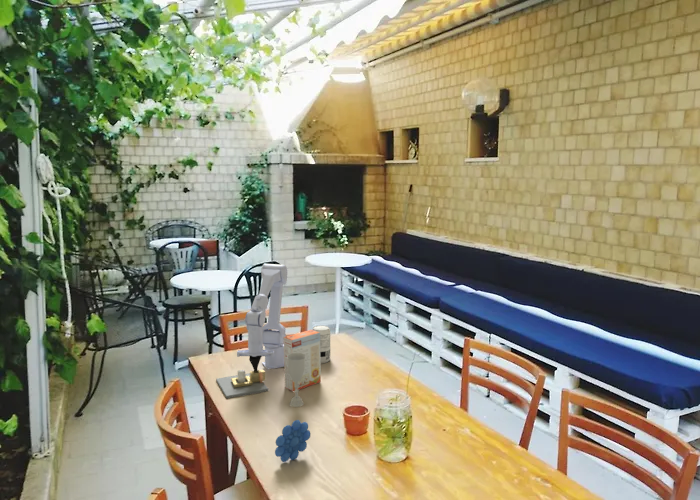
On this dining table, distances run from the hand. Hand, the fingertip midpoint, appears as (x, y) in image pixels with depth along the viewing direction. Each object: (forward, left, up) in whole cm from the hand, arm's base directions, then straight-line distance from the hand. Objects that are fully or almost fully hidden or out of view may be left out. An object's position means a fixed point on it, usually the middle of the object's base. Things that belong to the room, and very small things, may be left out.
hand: (256, 373), depth 217 cm
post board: (+6, +2, -3) cm, 8 cm away
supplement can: (-33, -11, -3) cm, 34 cm away
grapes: (+6, +60, -3) cm, 61 cm away
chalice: (-8, +26, -3) cm, 28 cm away
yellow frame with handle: (+4, +2, -2) cm, 5 cm away
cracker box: (-16, +11, -4) cm, 20 cm away
